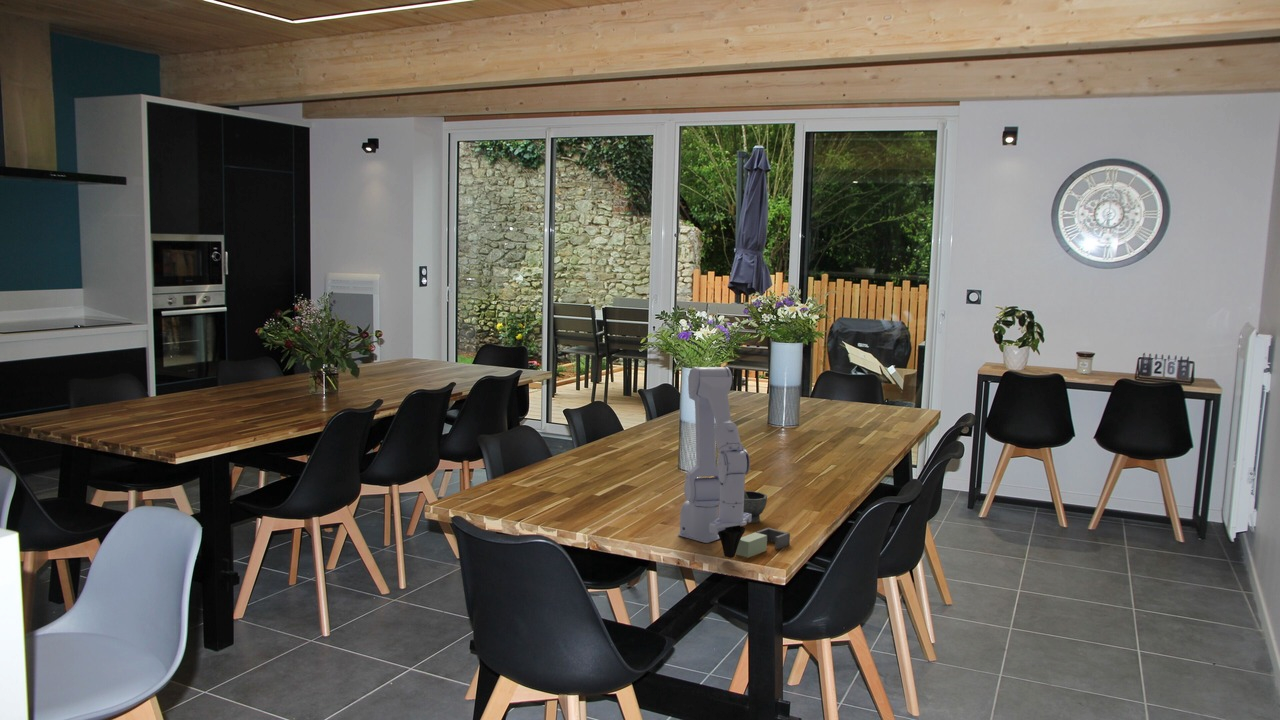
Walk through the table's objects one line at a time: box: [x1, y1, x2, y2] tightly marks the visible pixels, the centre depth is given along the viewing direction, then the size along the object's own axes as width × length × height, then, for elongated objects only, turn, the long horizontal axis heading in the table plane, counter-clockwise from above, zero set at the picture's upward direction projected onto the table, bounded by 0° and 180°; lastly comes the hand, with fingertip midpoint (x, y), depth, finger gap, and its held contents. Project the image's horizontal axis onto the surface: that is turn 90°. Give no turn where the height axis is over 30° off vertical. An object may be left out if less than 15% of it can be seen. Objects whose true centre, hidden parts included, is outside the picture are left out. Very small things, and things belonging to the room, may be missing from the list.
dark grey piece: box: [755, 527, 791, 550], centre depth 237 cm, size 7×6×3 cm
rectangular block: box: [735, 531, 768, 559], centre depth 230 cm, size 8×4×4 cm, turn 139°
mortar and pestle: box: [743, 489, 768, 524], centre depth 258 cm, size 11×9×12 cm
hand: (729, 556), depth 223 cm, fingers closed
